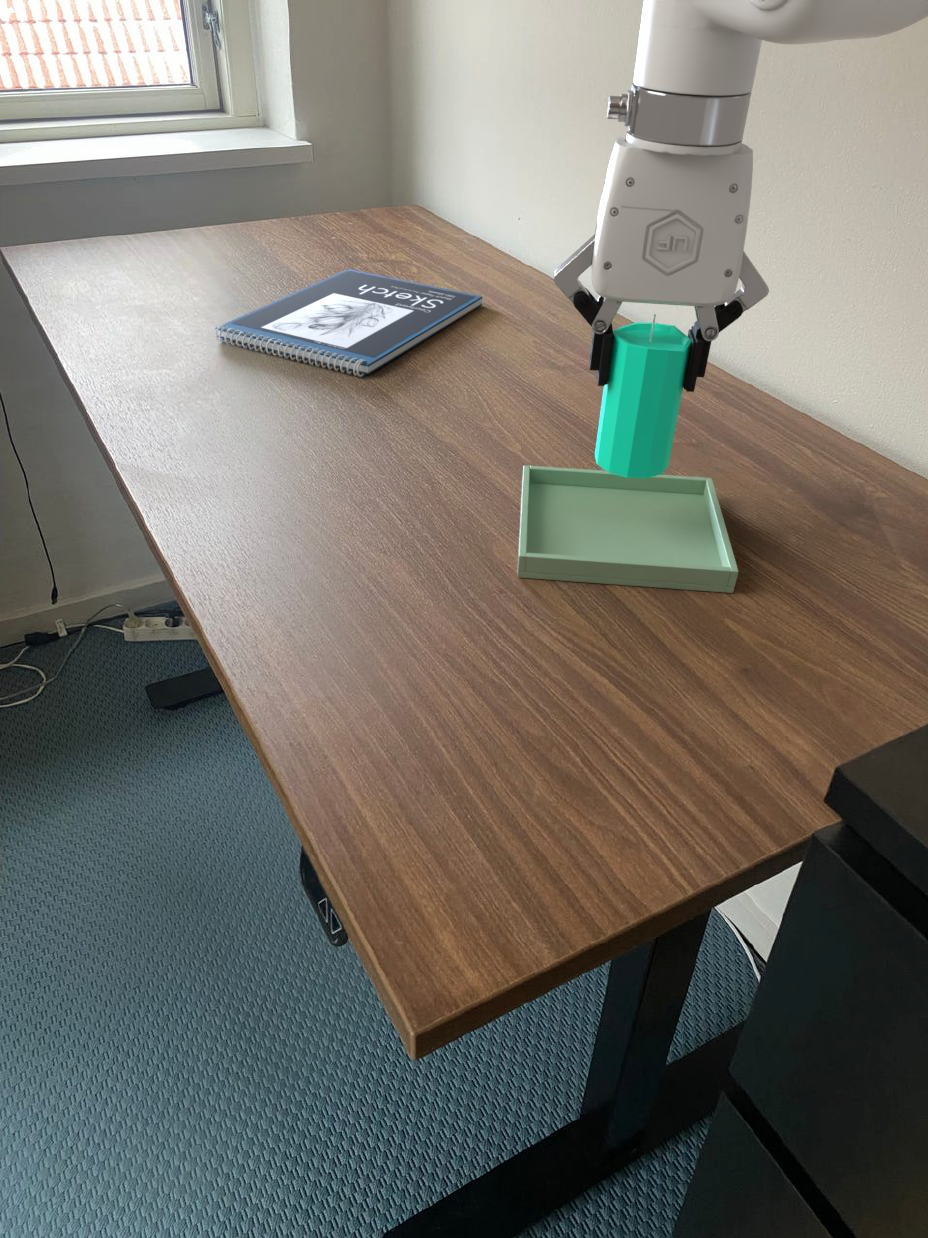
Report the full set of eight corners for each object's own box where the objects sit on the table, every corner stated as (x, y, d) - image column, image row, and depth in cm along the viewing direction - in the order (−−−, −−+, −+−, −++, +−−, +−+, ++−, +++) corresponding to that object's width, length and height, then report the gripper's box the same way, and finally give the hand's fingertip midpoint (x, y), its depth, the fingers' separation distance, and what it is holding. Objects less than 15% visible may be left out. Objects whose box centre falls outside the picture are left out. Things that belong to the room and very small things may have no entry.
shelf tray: (707, 497, 85) (712, 477, 84) (733, 593, 73) (738, 571, 72) (521, 485, 86) (523, 464, 85) (517, 577, 74) (518, 555, 73)
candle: (611, 482, 72) (633, 331, 65) (583, 447, 77) (601, 303, 70) (680, 474, 74) (710, 326, 67) (649, 441, 78) (674, 298, 71)
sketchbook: (482, 306, 125) (483, 290, 124) (363, 382, 104) (363, 364, 103) (347, 277, 133) (347, 262, 131) (211, 342, 111) (209, 325, 110)
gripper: (554, 122, 58) (531, 394, 69) (834, 138, 57) (765, 410, 68) (554, 103, 64) (533, 356, 75) (807, 116, 63) (748, 370, 74)
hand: (644, 379), depth 71 cm, fingers closed on candle, 5 cm apart
